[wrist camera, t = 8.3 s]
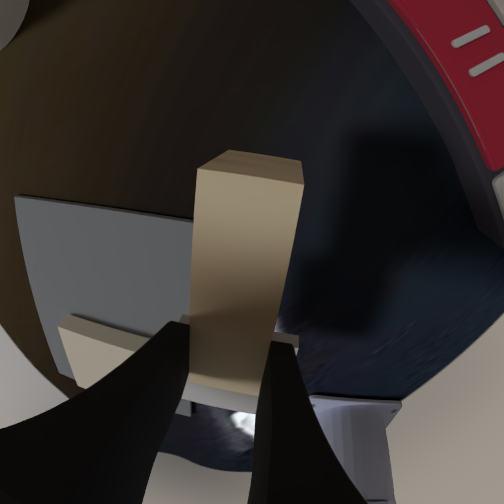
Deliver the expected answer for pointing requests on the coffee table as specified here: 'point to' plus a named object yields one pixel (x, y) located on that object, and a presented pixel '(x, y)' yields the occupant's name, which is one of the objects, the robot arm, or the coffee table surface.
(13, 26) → the candle
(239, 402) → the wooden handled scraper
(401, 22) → the calculator
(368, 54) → the coffee table surface
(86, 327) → the tile
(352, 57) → the coffee table surface
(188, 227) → the mat
